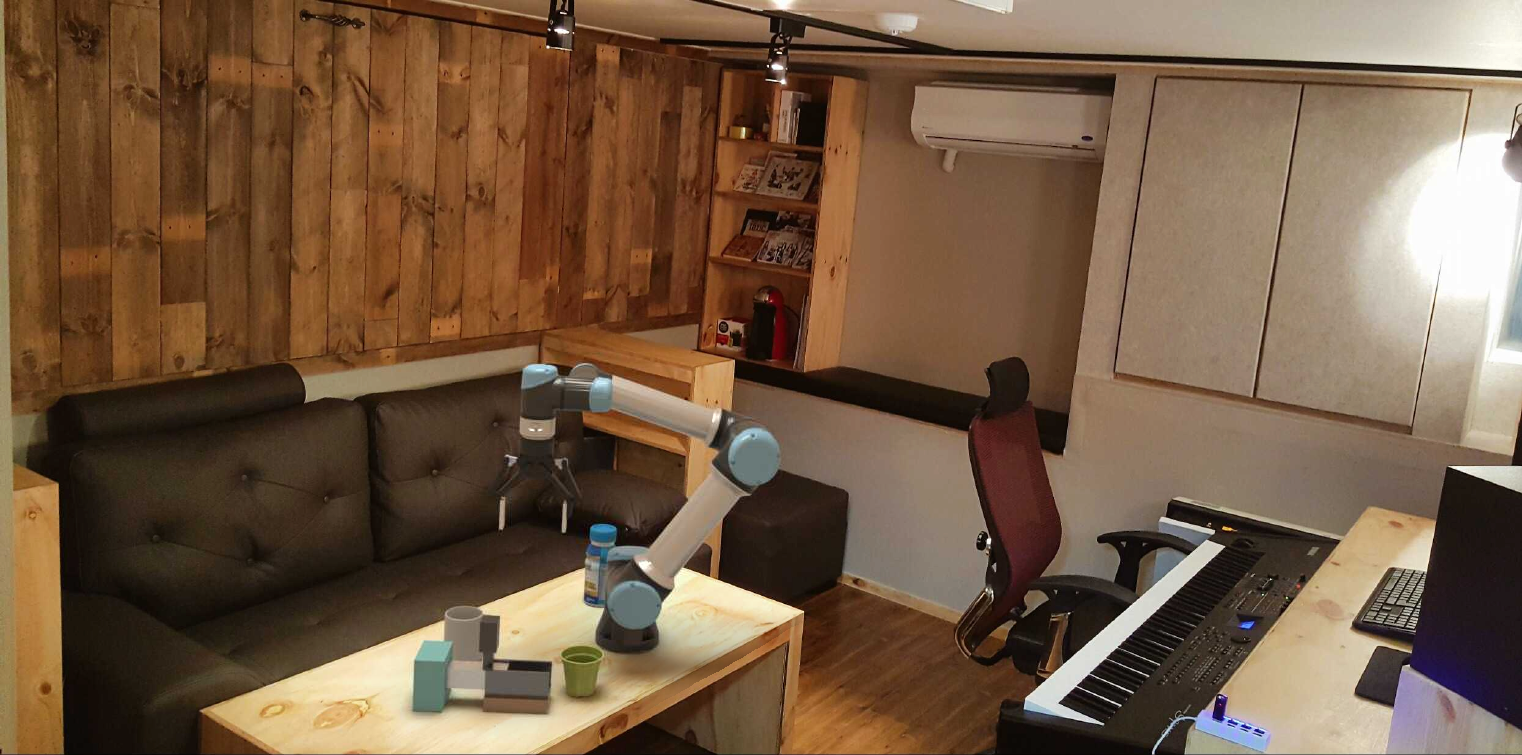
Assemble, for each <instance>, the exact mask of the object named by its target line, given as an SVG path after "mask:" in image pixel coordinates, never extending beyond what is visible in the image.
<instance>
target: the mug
mask: <svg viewBox="0 0 1522 755" xmlns="http://www.w3.org/2000/svg"><path fill="white" fill-rule="evenodd" d="M483 615H491V614H489V613H484V611H483V610H482V609H481V608H478V607H476V606H468V605H463V606H462V605H461V606H454V607H451V608H449V609H447V610H446V611H445V613H444V629H443V633H444V634H443V641H451V642H453V659H452V660H455V661H478V662H482V660H483V652H479V638H480V622H481V619H482V617H483Z"/></svg>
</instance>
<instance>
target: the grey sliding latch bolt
mask: <svg viewBox="0 0 1522 755" xmlns="http://www.w3.org/2000/svg"><path fill="white" fill-rule="evenodd" d="M500 627H501V615H493V614H490V615H483V617H482V619H481V622H480V638H479V652H482V661H480V662H478V661H455V660H449V662H448V664H447V667H446V684H445V688H451V689H463V690H484V691H485V670H486V669H487V670H509V663H500V662H494V659H495V654H497V651H498V649H499V646H500V634H501V633H500V630H501V629H500Z"/></svg>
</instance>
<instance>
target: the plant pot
mask: <svg viewBox="0 0 1522 755" xmlns="http://www.w3.org/2000/svg"><path fill="white" fill-rule="evenodd" d="M604 657H605V652H604V651H603V650H602V648H601V649H600V648H598V647H596V646H593V645H585V644H584V645H583V644H578V645H570V646H568V647H565V648H563V649H562V650H561V651H560V652H559V658H560V659H561V663H562V664H563V674H564V681H565V683H564V685H565V691H566V692H565V693H567V694H568V695H570V696H571V697H575V698H578V697H584V698H585V697H586V698H587V697H589V696H592V695H593V694H594V693H595V691H596V685H597V680H598V676H599V670H600V666H601V663H602V661H603V659H604Z"/></svg>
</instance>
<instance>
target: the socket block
mask: <svg viewBox="0 0 1522 755" xmlns="http://www.w3.org/2000/svg"><path fill="white" fill-rule="evenodd" d="M452 659H453V642H451V641H444V640H427V639H424V640H423V642H422V643H421V646H420V648H419V649H418V651H417V654H416V655H415V658H414V660H413V681H412V682H413V683H412V685H413V686H412V688H413V689H412V690H413V691H412V711H413V712H429V711H433V712H434V711H443V712H444V710H445V706H446V705H447V702H448V700H447V699H449V698H450V697H449V696H450V695H451V693H452V688H445V684H446V667H447V664H448V662H449V660H452ZM445 704H446V705H445ZM443 709H444V710H443ZM433 712H432V713H433ZM434 713H435V712H434Z"/></svg>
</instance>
